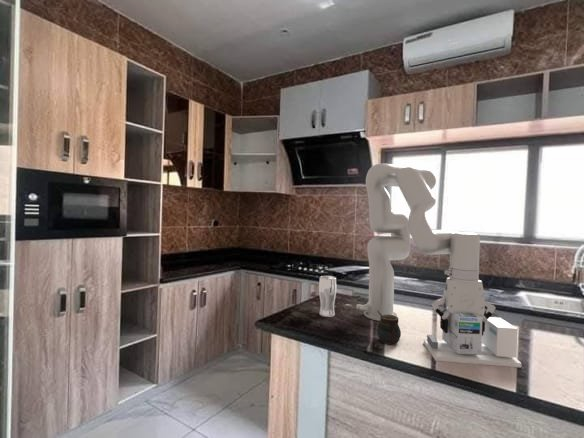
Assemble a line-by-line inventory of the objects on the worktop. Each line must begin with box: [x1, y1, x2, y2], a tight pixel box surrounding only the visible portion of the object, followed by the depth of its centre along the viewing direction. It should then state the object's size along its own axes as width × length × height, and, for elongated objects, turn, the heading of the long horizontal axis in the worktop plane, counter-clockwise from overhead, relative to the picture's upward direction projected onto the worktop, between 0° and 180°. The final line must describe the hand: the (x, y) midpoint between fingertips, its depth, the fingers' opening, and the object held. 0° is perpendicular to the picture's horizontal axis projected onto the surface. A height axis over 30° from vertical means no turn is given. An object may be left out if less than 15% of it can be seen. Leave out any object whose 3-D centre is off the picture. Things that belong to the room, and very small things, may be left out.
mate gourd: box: [376, 311, 402, 346], centre depth 100 cm, size 7×8×10 cm
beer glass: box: [318, 275, 338, 318], centre depth 126 cm, size 7×7×15 cm
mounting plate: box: [423, 334, 522, 368], centre depth 93 cm, size 22×12×4 cm, turn 82°
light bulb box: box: [441, 306, 483, 355], centre depth 93 cm, size 11×7×11 cm, turn 178°
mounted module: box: [482, 316, 518, 358], centre depth 91 cm, size 5×9×8 cm, turn 172°
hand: (461, 332), depth 93 cm, fingers open, 9 cm apart
